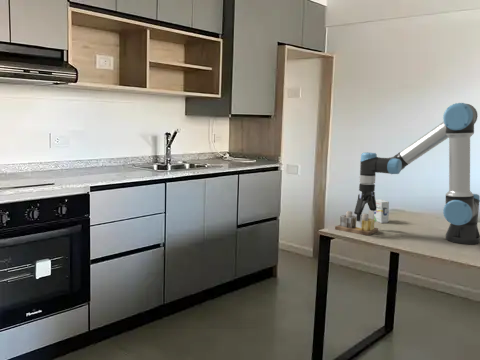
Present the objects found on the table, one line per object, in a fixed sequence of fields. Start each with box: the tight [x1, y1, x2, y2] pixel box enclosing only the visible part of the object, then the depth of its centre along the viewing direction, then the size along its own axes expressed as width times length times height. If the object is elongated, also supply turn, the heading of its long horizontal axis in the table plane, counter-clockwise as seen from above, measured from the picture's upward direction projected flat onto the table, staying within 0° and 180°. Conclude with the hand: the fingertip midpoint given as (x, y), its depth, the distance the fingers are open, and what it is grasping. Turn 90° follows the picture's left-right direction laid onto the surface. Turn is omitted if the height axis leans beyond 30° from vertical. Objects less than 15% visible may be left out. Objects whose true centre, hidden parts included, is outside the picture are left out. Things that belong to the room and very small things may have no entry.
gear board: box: [334, 210, 379, 236], centre depth 254 cm, size 18×12×9 cm, turn 50°
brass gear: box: [355, 218, 376, 231], centre depth 251 cm, size 8×8×5 cm
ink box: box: [374, 198, 390, 224], centre depth 276 cm, size 9×5×12 cm, turn 21°
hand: (364, 225), depth 251 cm, fingers open, 13 cm apart
